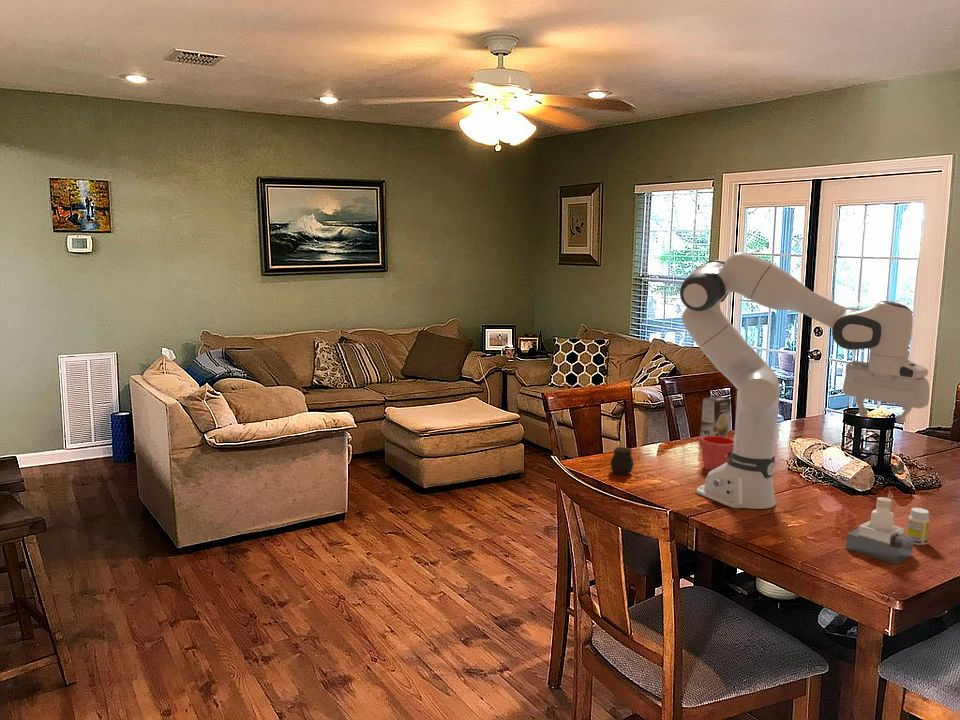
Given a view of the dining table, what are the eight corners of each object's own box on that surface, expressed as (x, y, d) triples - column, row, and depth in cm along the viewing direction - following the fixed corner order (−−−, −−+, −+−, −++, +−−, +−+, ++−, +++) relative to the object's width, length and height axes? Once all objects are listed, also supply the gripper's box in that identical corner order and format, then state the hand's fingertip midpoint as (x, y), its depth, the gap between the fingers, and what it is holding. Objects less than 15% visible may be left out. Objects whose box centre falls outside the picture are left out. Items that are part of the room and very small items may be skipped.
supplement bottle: (920, 538, 202) (924, 507, 201) (931, 545, 197) (935, 513, 196) (902, 538, 202) (905, 507, 200) (912, 545, 197) (916, 513, 196)
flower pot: (728, 464, 265) (731, 436, 263) (736, 473, 254) (738, 444, 252) (696, 462, 266) (698, 434, 264) (702, 472, 255) (704, 443, 253)
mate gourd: (615, 468, 257) (617, 438, 255) (637, 472, 253) (639, 443, 251) (606, 473, 251) (608, 443, 249) (628, 478, 247) (630, 447, 245)
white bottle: (876, 532, 194) (880, 495, 193) (892, 537, 191) (896, 500, 190) (867, 535, 192) (871, 498, 191) (884, 540, 189) (888, 503, 187)
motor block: (845, 548, 194) (848, 523, 193) (862, 540, 200) (864, 516, 199) (896, 564, 185) (899, 538, 184) (912, 555, 191) (915, 530, 189)
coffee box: (714, 443, 291) (717, 401, 288) (699, 440, 295) (702, 398, 293) (728, 440, 296) (731, 398, 294) (713, 436, 301) (716, 395, 299)
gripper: (841, 360, 205) (835, 412, 207) (924, 373, 189) (917, 428, 191) (852, 358, 209) (846, 409, 211) (935, 371, 193) (928, 425, 195)
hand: (881, 418), depth 201 cm, fingers open, 8 cm apart
